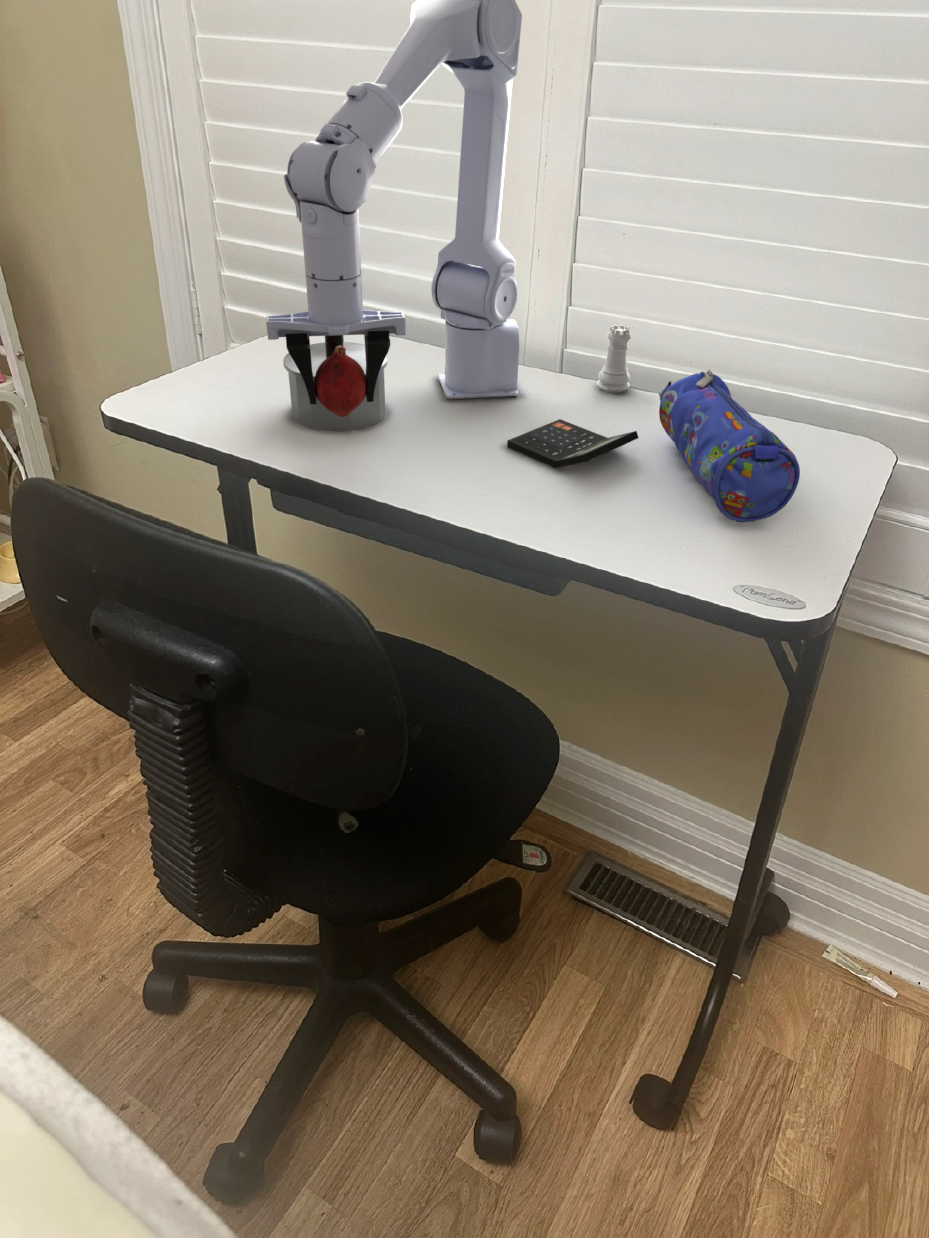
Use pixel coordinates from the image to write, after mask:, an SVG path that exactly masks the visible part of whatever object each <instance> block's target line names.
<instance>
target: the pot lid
mask: <svg viewBox="0 0 929 1238" xmlns="http://www.w3.org/2000/svg"><path fill="white" fill-rule="evenodd" d="M340 345H341V346H343V347H344V348H345V349H346V351H345V353H346V355H348V356H349V357H351V358H353V359H354V360H355V361H356V362H358V364H359V365H360V366H361V367H362V369H363V371H364V373H365V376H366V355H365V343H358V342H349V341H345V336H344V335H335V336H324V342H317V343H310V350H311V363H312V372H313V378H314V380H315V375H316V371H317V369H318V367H319V366H320V365H321V363H322V362H323V361H324V360H326V359H327V358H328V357H330V356H331V355H332V353H333V351H334V349H335V347H337V346H340ZM282 362H283V368H284V369H285V370H286V371H287V372H289V373H291V374H293V375H295V376H298V377H301V378H302V376H301V374H300V372H299V370H298V368H297V366H296V364H295V362H294V361H293V359H292V357H291V356H290V354H289V352H288V353H286V354H285V356H284V357H283V360H282ZM387 366H388V357H387V355H386V357H385V359H384V361H383V364H382V366H381V369H380V371H382V370H383V369H384V370H385V368H386V367H387Z"/></svg>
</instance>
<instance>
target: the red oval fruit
mask: <svg viewBox="0 0 929 1238" xmlns="http://www.w3.org/2000/svg"><path fill="white" fill-rule="evenodd" d="M345 351H346V349H345V348H344V347H343V346H341V345H340V346H337V347H335V349H334V351H333V353H332V355H331V356H330V357H328V358H327V359H326V360H324V361H323V362H322V363H321V365H320V366H319V367H318V369H317V371H316V375H315V383H314V387H315V393H316V397H317V398H318V400H319V402H320V403H321V404H322V405H323V406H324V407H325V408H326V409H327V410H329V411H330V412H332V413H334V414H336V415H338V416H339V417H346V416H347V415H348V414H349V413H351V412H352V411H353V410H354V409H356V408H357V407H358V406H359V405H360V404H361V403H362V401H363V400H364V398H365V396H366V394H367V381H366V376H365V373H364V371H363V369H362V367H361V366H360V365H359V364H358V362H356V361H355V360H354V359H353V358H351V357H349V356H348V355H346V353H345Z"/></svg>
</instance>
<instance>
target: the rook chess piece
mask: <svg viewBox="0 0 929 1238" xmlns="http://www.w3.org/2000/svg"><path fill="white" fill-rule="evenodd" d="M619 326H620V327H619V328H618V324H613V325H610V328H609V331H608V332H607V333H606V336H607V338H608V340H609V341H608V344H607V345H606V346H607V355H606V359H605V363H604V365H603V366H602V368H601V371H599V373H598V374H597V377H598V380H597V381H596V384H597V387H598V388H599V389H600V390H601V391H604V392H607V393H617V394H618V393H623V392H625V391H627V390H628V389H629V388H630V386H631V383H630V381H631V375H630V373H629V369H628V367H627V354H628V353H627V352H628V349H629V348H630V347H629V345H628V343H629V341H630V340H631V338H632V337H633V336H632V333H631V328H630V326H628V325H627V326H625V325H624V324H620V325H619Z"/></svg>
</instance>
